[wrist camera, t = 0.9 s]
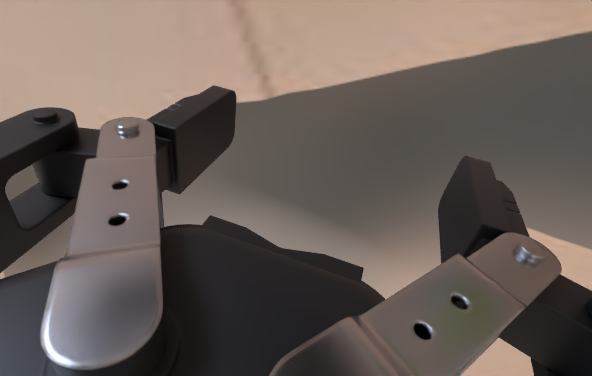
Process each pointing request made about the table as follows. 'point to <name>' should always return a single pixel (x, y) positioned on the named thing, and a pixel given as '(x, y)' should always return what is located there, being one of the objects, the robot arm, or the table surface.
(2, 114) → the table surface
